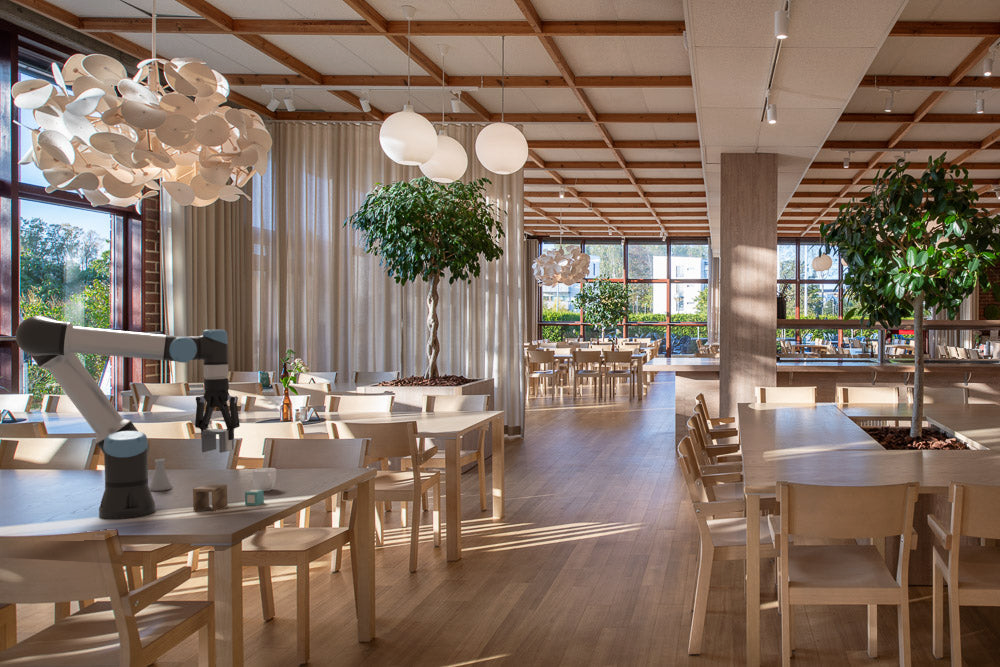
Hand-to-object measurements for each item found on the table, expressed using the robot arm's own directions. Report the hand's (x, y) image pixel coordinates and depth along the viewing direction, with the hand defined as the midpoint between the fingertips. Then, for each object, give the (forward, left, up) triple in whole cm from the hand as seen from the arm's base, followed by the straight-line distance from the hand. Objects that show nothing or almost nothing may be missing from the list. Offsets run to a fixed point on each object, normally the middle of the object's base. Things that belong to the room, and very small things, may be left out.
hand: (217, 450), depth 277 cm
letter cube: (-8, -17, -15) cm, 24 cm away
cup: (+12, -10, -15) cm, 22 cm away
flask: (+9, +27, -15) cm, 32 cm away
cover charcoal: (0, 0, 0) cm, 0 cm away
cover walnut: (-16, -7, -15) cm, 23 cm away
